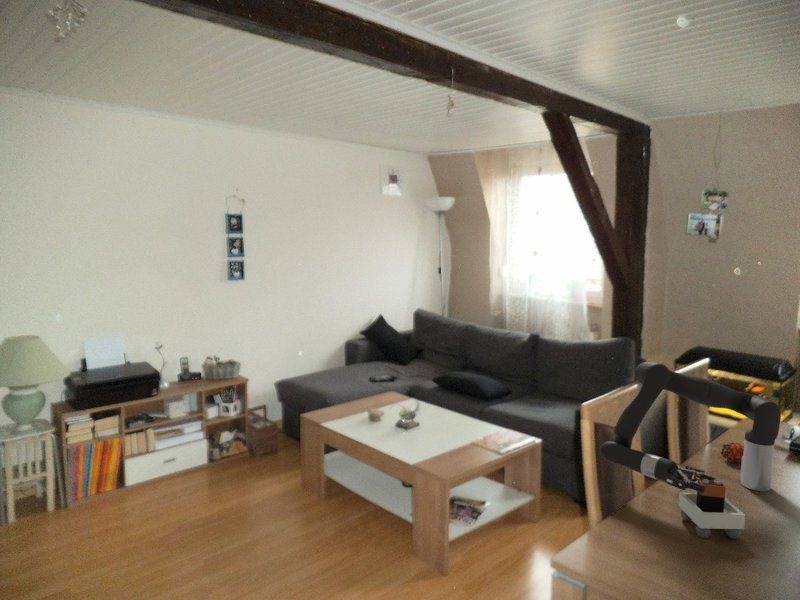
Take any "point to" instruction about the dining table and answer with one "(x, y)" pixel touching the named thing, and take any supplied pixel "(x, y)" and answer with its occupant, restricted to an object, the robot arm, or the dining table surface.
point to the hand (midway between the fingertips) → (709, 485)
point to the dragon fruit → (733, 452)
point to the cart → (711, 517)
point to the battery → (711, 496)
